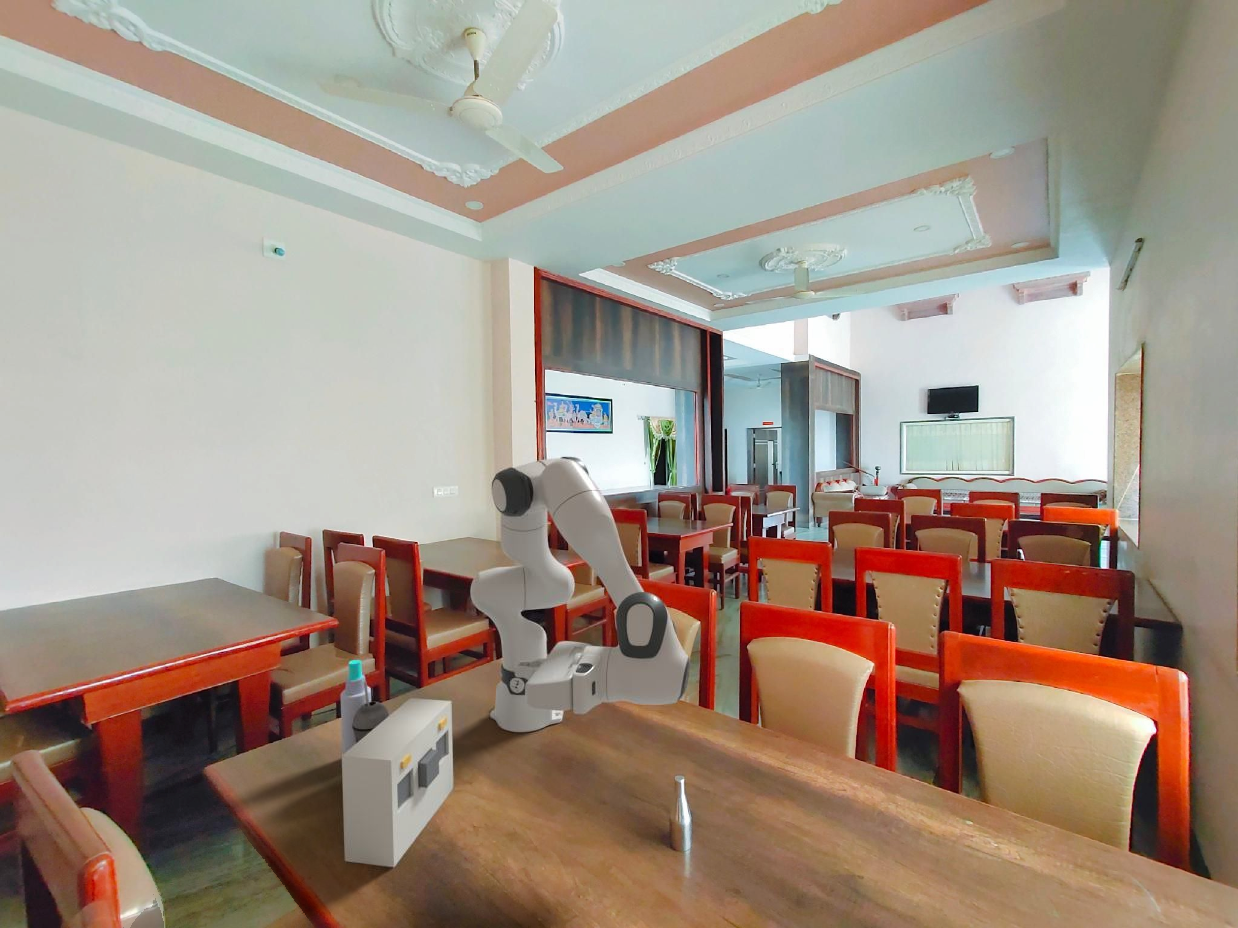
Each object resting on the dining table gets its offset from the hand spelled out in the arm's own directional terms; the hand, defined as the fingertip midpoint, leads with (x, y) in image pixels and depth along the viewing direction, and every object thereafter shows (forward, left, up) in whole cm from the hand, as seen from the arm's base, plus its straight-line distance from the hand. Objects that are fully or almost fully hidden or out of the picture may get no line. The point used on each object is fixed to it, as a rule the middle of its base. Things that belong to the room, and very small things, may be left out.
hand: (517, 668), depth 97 cm
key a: (+7, -21, -22) cm, 31 cm away
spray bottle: (-17, -44, -30) cm, 56 cm away
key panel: (0, -23, -30) cm, 38 cm away
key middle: (0, -19, -22) cm, 29 cm away
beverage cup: (-12, -37, -30) cm, 49 cm away
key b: (-6, -21, -22) cm, 31 cm away
